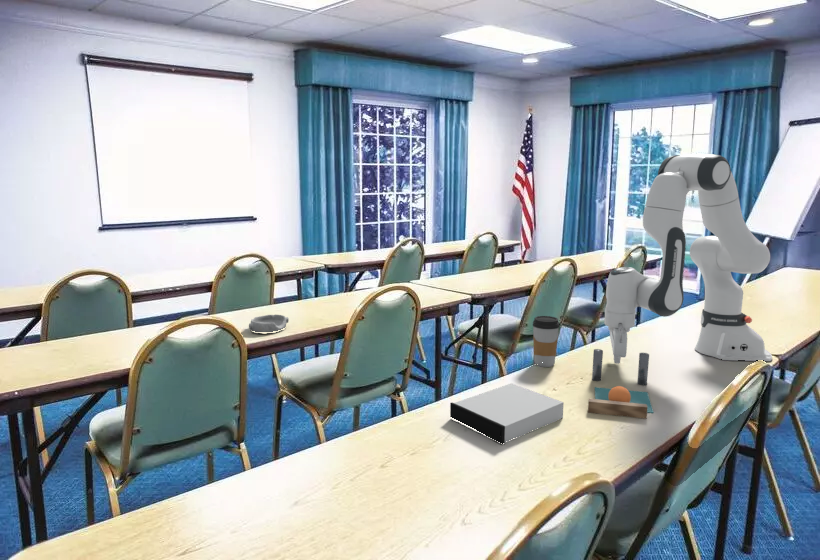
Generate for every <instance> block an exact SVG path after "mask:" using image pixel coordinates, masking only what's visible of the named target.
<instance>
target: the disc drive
mask: <svg viewBox="0 0 820 560" xmlns="http://www.w3.org/2000/svg"><path fill="white" fill-rule="evenodd" d="M449 407H450V410H449V411H450V415H449V416H450V417H452V418H454V419H456V420H458V421H460V422H462V423H464V424H466V425H468V426H470V427H472V428H474V429H476V430H477V431H479V432H481V433H483V434H485V435H486V436H488V437H490V438H492V439H494V440H496V441H498V442H500V443H502V444H503V443H505V442H506V441H509V440H511V439H513V438H516V437H519V436H521V435H523V436H525V435H524V434H526V433H528V432H530V431H532V430H535V429H537V428H539V429H541V428H540V427H542V426H544V427H546V426H548V425H551V424H552V422H553V423H555V422H557V420H558V421H560V420H562V419H563V418H564V401H560V400H558V399H556V398H553V397H549V396H547V395H545V394H541V393H540V392H539V393H538V392H537V391H534V390H530V389H529V388H525V387H523V386H520V385H518V384H515V383H512V382H511V383H508V384H505V385H502V386H499V387H496V388H494V389H490V390H488V391H485V392H483V393H482V392H481V393H479V394H477V395H473V396H471V397H468V398H465V399H462V400H459V401H456V402H450V406H449ZM450 417H449V418H450ZM561 418H562V419H561ZM559 419H560V420H559ZM550 423H551V424H550ZM547 424H548V425H547ZM545 425H546V426H545ZM542 428H543V427H542ZM537 430H538V429H537ZM535 431H536V430H535ZM532 432H533V431H532ZM530 433H531V432H530ZM528 434H529V433H528ZM526 435H527V434H526ZM521 437H522V436H521ZM519 438H520V437H519ZM516 439H517V438H516ZM505 444H506V443H505Z"/></svg>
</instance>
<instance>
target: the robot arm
mask: <svg viewBox="0 0 820 560" xmlns="http://www.w3.org/2000/svg"><path fill="white" fill-rule="evenodd" d="M731 168H732V167H731V164H730V162H728V159H727V158H726V157H724V156H722V155H720V154H713V153H711V154H710V153H709V154H707V153H692V154H682V155H679V154H677V155H675V154H674V155H672V156H669V157H666V158H665V159H664V160H663V161H662V162H661V164H660V165H659V168H658V171H657V175H656V177H655V178H654V179H653V181H652V183H651V186H650V188H649V191H648V194H647V197H646V201H645V205H644V206H645V207H644V210H643V215H642V227H643V229H644V230H645V233H646V234H648V235H649V237H650V238H652V239H653V240H654V241H655V242H656V243H657V244H658V245H659V246H660V249H661V251H662V261H661V269H660V278H659V279H656V278H654V277H649V276H647V275H645V274H642V273H640V272H639V271H638V270H636V269H635V268H634V267H629V266H620V267H616V268H613V269H612V270H610V272H609V275H608V278H607V283H606V290H605V297H606V306H605V309H604V325H605V326H606V327H608V328H607V329H608V331H609V340H610V342H611V343H610V344H611V348H612V349H611V350H612V355H613V363H614V364H618V365H619V364H620V363H621V358H626V357H627V354H628V353H627V350H628V348H627V347H628V333H629V332H630V331H631V329H632V328H634V327H635V323H636V312H637V311H636V309H637V308H639V307H640V308H642V309H645V310H647V311H650V312H652V313H654V314H656V315H658V316H660V317H663V318H664V317H665V318H666V317H670V316H673V315H674V314H676V313H677V312H679V310H681V308H682V306H683V303H684V299H685V298H684V297H685V296H684V288H683V287H684V286H683V285H684V284H683V281H684V280H683V278H684V270H685V268H684V267H685V259H686V258H685V257H686V247H687V244H686V243H687V240H686V239H687V238H686V234H685V232H684V229H683V228H684V227H683V220H684V219H683V218H684V211H685V207H686V202H687V195H688V193H690V192H692V191H697V193H698V194H697V197H698V201H699V202H698V203H699V207H700V213H701V218H702V223H703V226H704V228H706V229H707V230H708V231H709V232H710V233H712V234H713V235H705V236H699V237H697V238H696V239H694V240H693V242H692V243H691V245H690V248H689V255H690V256H689V258H690V259H691V261H692V262H693V263H694V264H695V265H696V267H697V268H698V270H699V271H700V274H701V276H702V280H703V284H704V302H703V303H704V307H703V309H702V312H701V316H700V319H701V320H700V326H701V328H700V332H699V337H698V340H697V343H696V345H695V346H694V349H695V351H696V352H698V353H700V354H703V355H704V356H709V357H713V358H716V359H719V360H721V359H722V361H738V360H745V362H749V361H750V362H757V361H756V360H764V361H763V362H771V361H772V360H773V356H772V353H771V352H770V351H769V350H767V349H766V348H765V342H764V341H765V340H764V339H763V337H762V336H761V335H760V334H759V333H758V332H756V331H755V330H754V329H753V328H752V327H751V326H749V325H748V324H751V323H752V321H753V319H752V317H750V316H749V315H746V314H745V313H743V312H742V309H743V299H744V290H743V288H742V287H741V286H740V284H738V282H736V281H735V279H734V278H733V275H732V273H737V274H743V275H745V274H749V275H751V274H752V275H753V274H759V273H762V272H763V271H764V270H765V269H766V268H767V267H768V265H769V264H770V261H771V252H770V250H769V249H770V248H768V246H767V245H766V244H764V243H763V242H762V241H760V240H759V238H757V237H756V236H755V235H754V234H753V232H752V231H751V230H750V228H749V227H748V225H747V223H746V222H745V220H744V219H745V218H744V215H743V212H742V208H741V203H740V197H739V192H738V191H739V190H738V187H737V183H736V180H735V177H734V175H733V172H732V169H731Z"/></svg>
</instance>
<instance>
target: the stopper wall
mask: <svg viewBox="0 0 820 560" xmlns="http://www.w3.org/2000/svg"><path fill="white" fill-rule="evenodd" d="M587 400H588V403H587V404H588V405H587V413H591V414H600V415H609V416H616V417H617V416H619V417H626V418H638V419H645V420H646V419H647V417H648V413H647V408H648V407H647V404H639V403H629V402H619V401H609V400H599V399H595V398H588V399H587Z"/></svg>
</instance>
